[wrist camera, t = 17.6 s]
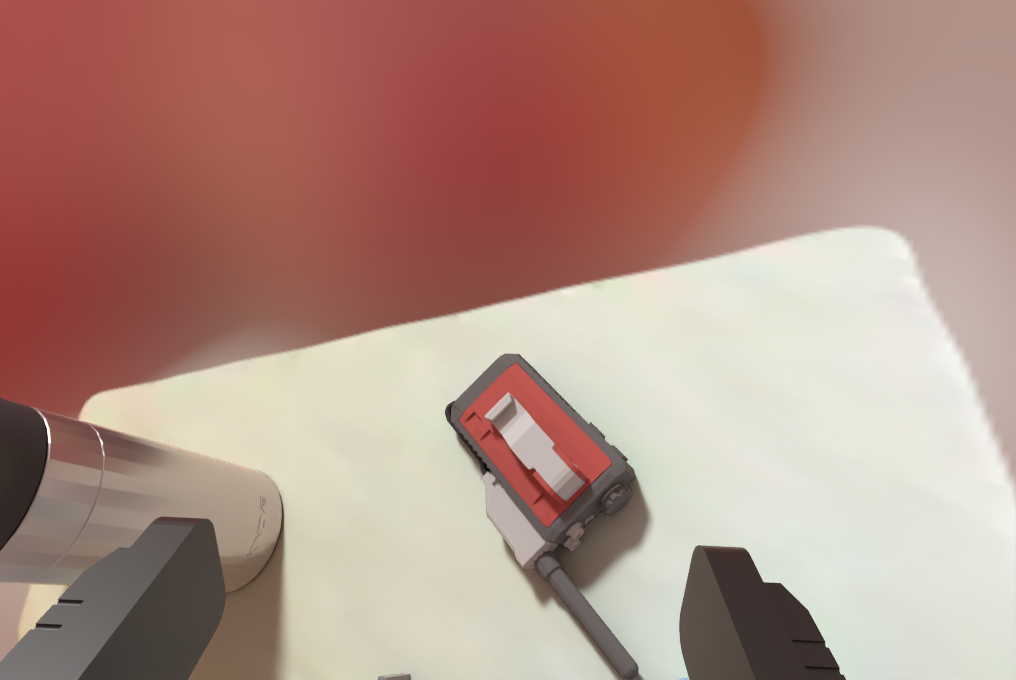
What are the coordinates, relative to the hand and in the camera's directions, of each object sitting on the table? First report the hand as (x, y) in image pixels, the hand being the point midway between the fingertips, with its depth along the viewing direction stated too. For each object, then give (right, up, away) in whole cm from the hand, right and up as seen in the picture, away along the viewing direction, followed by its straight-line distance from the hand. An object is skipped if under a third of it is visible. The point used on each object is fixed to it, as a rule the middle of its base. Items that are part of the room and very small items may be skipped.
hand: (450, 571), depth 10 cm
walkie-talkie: (+5, -6, +28) cm, 29 cm away
